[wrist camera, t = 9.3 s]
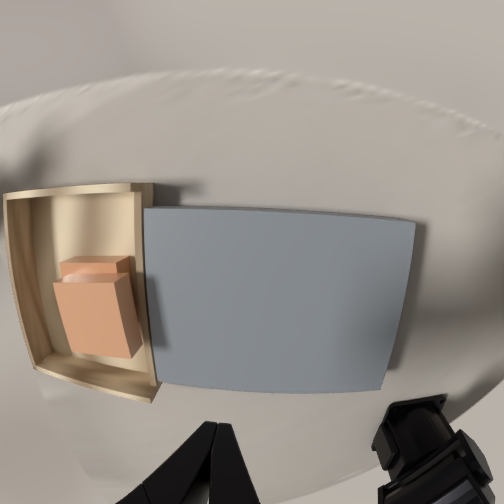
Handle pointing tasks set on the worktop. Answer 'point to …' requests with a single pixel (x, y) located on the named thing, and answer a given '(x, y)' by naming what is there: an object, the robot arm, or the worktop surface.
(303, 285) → the slate board
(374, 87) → the worktop surface
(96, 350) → the tile near
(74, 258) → the tile far
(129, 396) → the tray
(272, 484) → the worktop surface
